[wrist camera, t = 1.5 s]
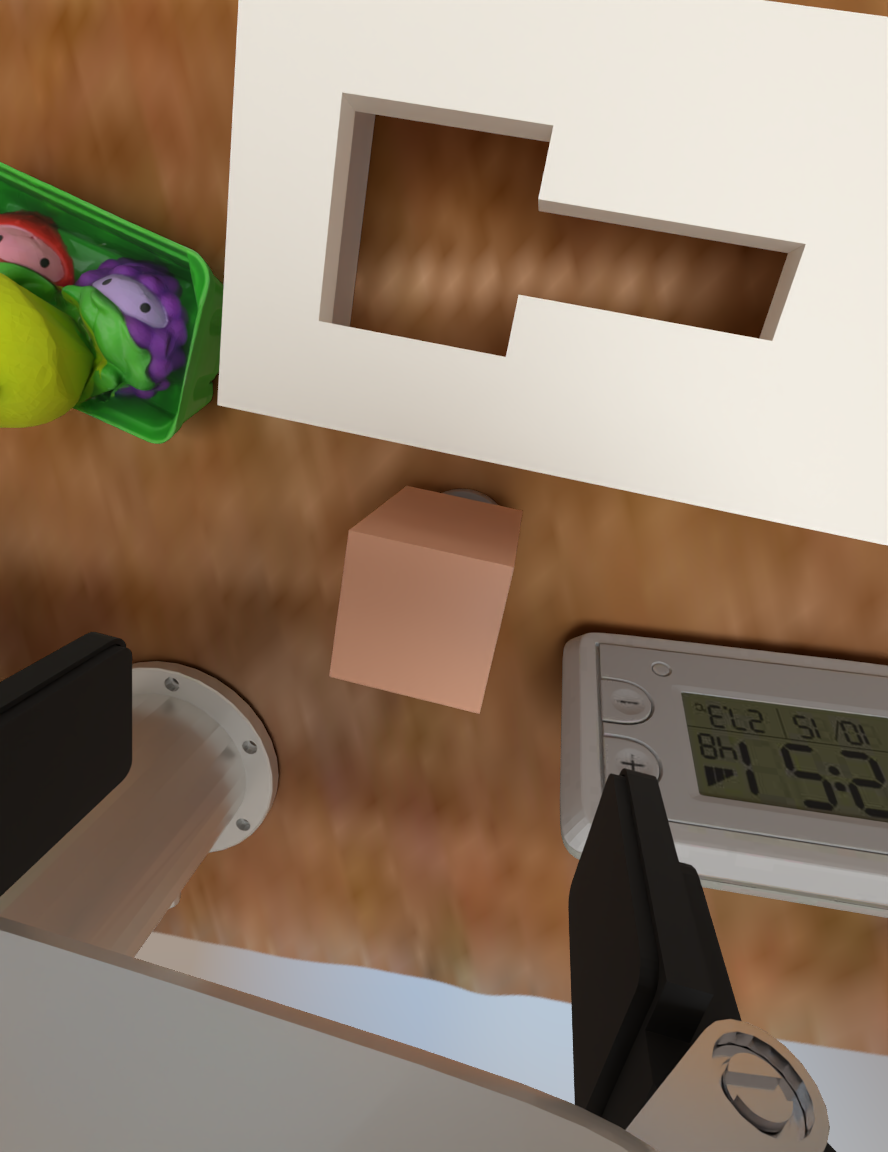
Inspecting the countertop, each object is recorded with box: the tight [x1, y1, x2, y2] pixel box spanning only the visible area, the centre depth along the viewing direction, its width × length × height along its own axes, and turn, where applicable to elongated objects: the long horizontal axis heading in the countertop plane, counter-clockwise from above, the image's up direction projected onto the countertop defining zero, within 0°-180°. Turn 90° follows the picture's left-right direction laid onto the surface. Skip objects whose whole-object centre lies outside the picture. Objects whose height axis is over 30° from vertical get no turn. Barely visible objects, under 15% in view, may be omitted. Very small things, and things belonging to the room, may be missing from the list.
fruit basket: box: [0, 162, 224, 444], centre depth 23 cm, size 11×9×11 cm
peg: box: [329, 486, 523, 714], centre depth 24 cm, size 5×5×11 cm
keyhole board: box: [217, 0, 888, 545], centre depth 21 cm, size 12×22×9 cm, turn 80°
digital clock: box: [560, 632, 888, 918], centre depth 24 cm, size 16×9×11 cm, turn 76°
